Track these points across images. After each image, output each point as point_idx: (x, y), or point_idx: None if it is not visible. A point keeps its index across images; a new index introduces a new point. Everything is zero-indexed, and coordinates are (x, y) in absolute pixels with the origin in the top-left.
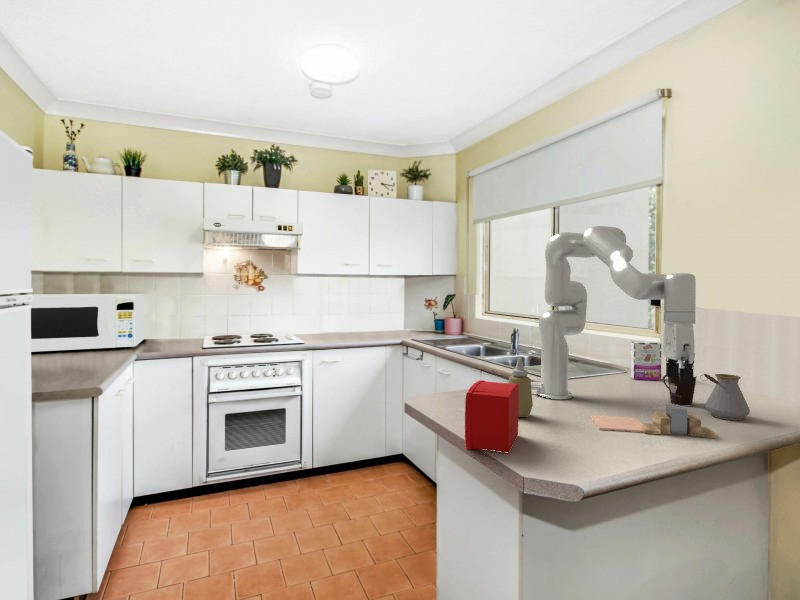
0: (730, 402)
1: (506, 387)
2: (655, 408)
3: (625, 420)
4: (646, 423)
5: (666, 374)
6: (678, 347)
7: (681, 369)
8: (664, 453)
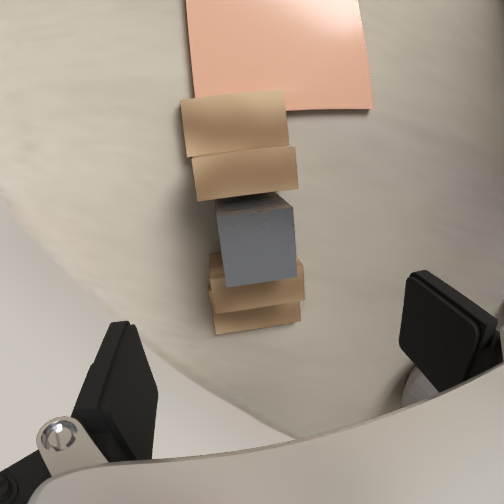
0: None
1: None
2: (493, 218)
3: (321, 59)
4: (285, 123)
5: (422, 275)
6: None
7: (83, 410)
8: (6, 148)
